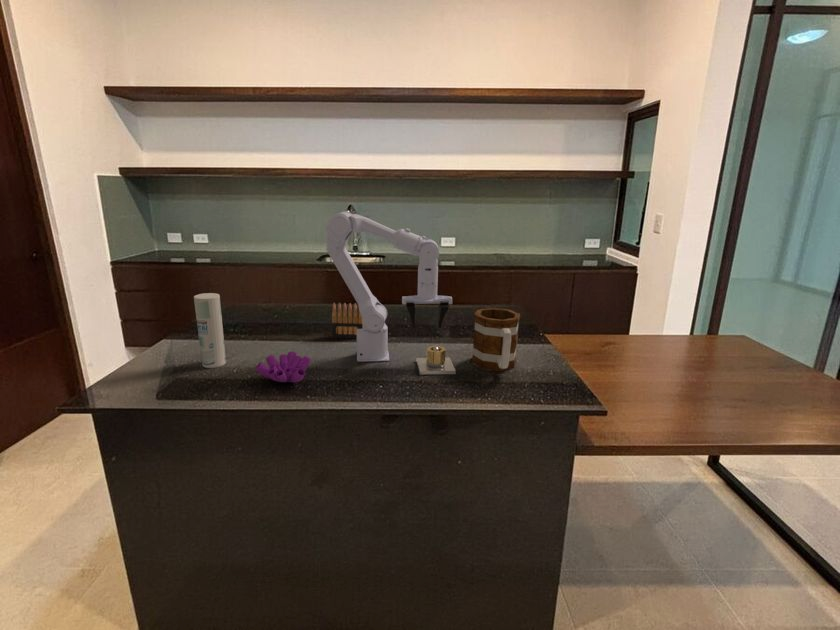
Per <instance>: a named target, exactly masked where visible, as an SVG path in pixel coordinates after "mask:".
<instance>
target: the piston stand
mask: <svg viewBox="0 0 840 630" xmlns="http://www.w3.org/2000/svg"><path fill="white" fill-rule="evenodd" d="M433 351H439V348H437V347H434V348H433ZM415 361H416V365H417V369H418V373H419V375H421V376H422V375H423V376H425V375H427V376H428V375H456V374H457V372H456V368H455V366H454V364H453V362H452V359H451V357H446V356H445V362H444V363H442V364H441V363H440V364H434V363H433V364H432V363H429V362H427V360H426V357H416V360H415Z"/></svg>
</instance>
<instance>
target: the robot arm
mask: <svg viewBox="0 0 840 630" xmlns="http://www.w3.org/2000/svg"><path fill="white" fill-rule="evenodd" d="M325 231H326V251H327V254H328V256H329V257H330V259H331V260H332V262H333V264H334V266H335V267H336V269H337V270H338V272H339V275H341V278H342V279H343V281H344V283H345V285H346V287H348V290H349V291H350V294H352V297H353V298H354V300H355V301H356V304H357V305H358V306H357V307H358V312H359V311H360V314H361V315H362V318H363V328H362V329H357V338H356V347H355V354H356V361H357V362H360V363H361V362H389V361H390V354H389V350H388V341H389V340H388V339H389V338H388V335H389V333H388V325H387V324H386V323H385V322H386V320H387V318H388V310H387V308H386V307H385V306H384V305H383V304H382V303H381V302H380V301H379V300H378V299H377V297H376V296H375V295H374V294H373V293H372V291H371V290H370V288H369V286H368V284H367V282H366V280H365V279H364V278H363V276H362V273H361V272H360V270H359V269H358V267H357V265H356V263H355V262H354V260H353V258H352V256H351V255H350V253H349V251H348V249H347V245H348V242H349V238H350V236H351V234H359V233H367V234H370V235H373V236H376V237H378V238H380V239H384V240H387V241H388V242H391V243H392V245H393V248H395V249H397V250H399V251H402V252H404V253H406V254H409V255H412V256H414V257H415V256H416V257H417V256H418V258H419V261H418V263H419V264H418V267H417V295H416V294H415V295H408V296H407V295H406V296H401V297H402V298H401V304H402V305H405V306H406V309H407V311H408V314H409V317H410V320H411V326H412V327H411V328H412V329H416V305H420V304H421V305H422V304H424V305H426V304H427V305H430V304H431V305H432V304H433V305H434V304H435V305H436V304H437V305H438V306H437V308H438V309H437V310H438V314H437V315H438V317H437V327H438V329H441V328H442V324H443V321H444V318H445V316H446V313H447V312H448V310H449V308H450V306H449V305H453V297H452V296H450V295H449V296H448V295H438V283H439V279H438V278H439V266H438V264H439V260H438V259H439V256H440V249H439V246H438V243H437V242H436V241H434V240H433V239H432V238H427V236H425V235H422V236H421V235H418V234H415V233H413V232H411V229H410V228H407V227H406V228H405V229H404V228H399V229H397V230H395V229H392V228H391V227H388V226H385V225H384V224H381V223H379V222H377V221H375V220H372V219H370V218H368V217H366V216H363V215H361V214H358V213H352V212H350V211H347V210H343V211H340V212H338V213H335V214H333V215H331V216H330V218H329V219H328V222H327V225H326V226H325Z"/></svg>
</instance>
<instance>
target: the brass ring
mask: <svg viewBox="0 0 840 630" xmlns="http://www.w3.org/2000/svg"><path fill="white" fill-rule="evenodd" d="M434 347H437V348H439V351H433V348H434ZM446 353H447V351H446V347H444V346H440V345H430V346H428V347H426V357H425V358H426V360H427V362H429V363H432V364H433V363H434V364H440V363H441V364H442V363H444V362H445V357H446Z"/></svg>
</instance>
